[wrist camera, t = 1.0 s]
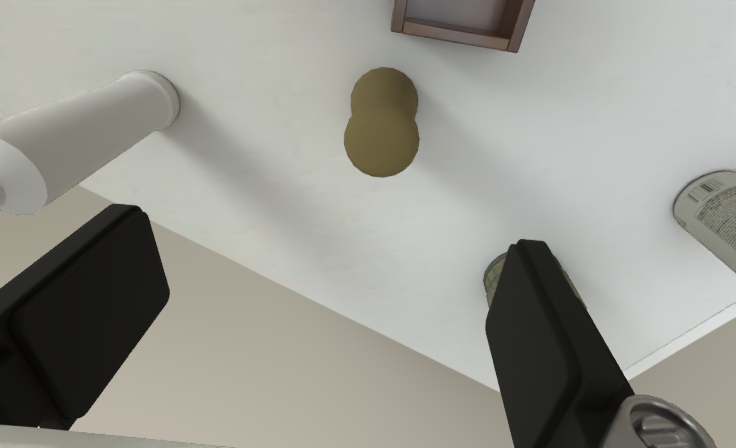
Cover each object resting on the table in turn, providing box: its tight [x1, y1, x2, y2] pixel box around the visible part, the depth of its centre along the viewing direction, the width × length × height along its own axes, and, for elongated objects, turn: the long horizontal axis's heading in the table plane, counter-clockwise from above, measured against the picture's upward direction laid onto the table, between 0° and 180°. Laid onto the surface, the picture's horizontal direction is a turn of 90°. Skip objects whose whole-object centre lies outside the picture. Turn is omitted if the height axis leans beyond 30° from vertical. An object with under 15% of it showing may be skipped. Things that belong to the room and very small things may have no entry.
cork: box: [344, 67, 420, 177], centre depth 30 cm, size 6×6×11 cm
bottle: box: [0, 71, 180, 215], centre depth 25 cm, size 5×5×25 cm
